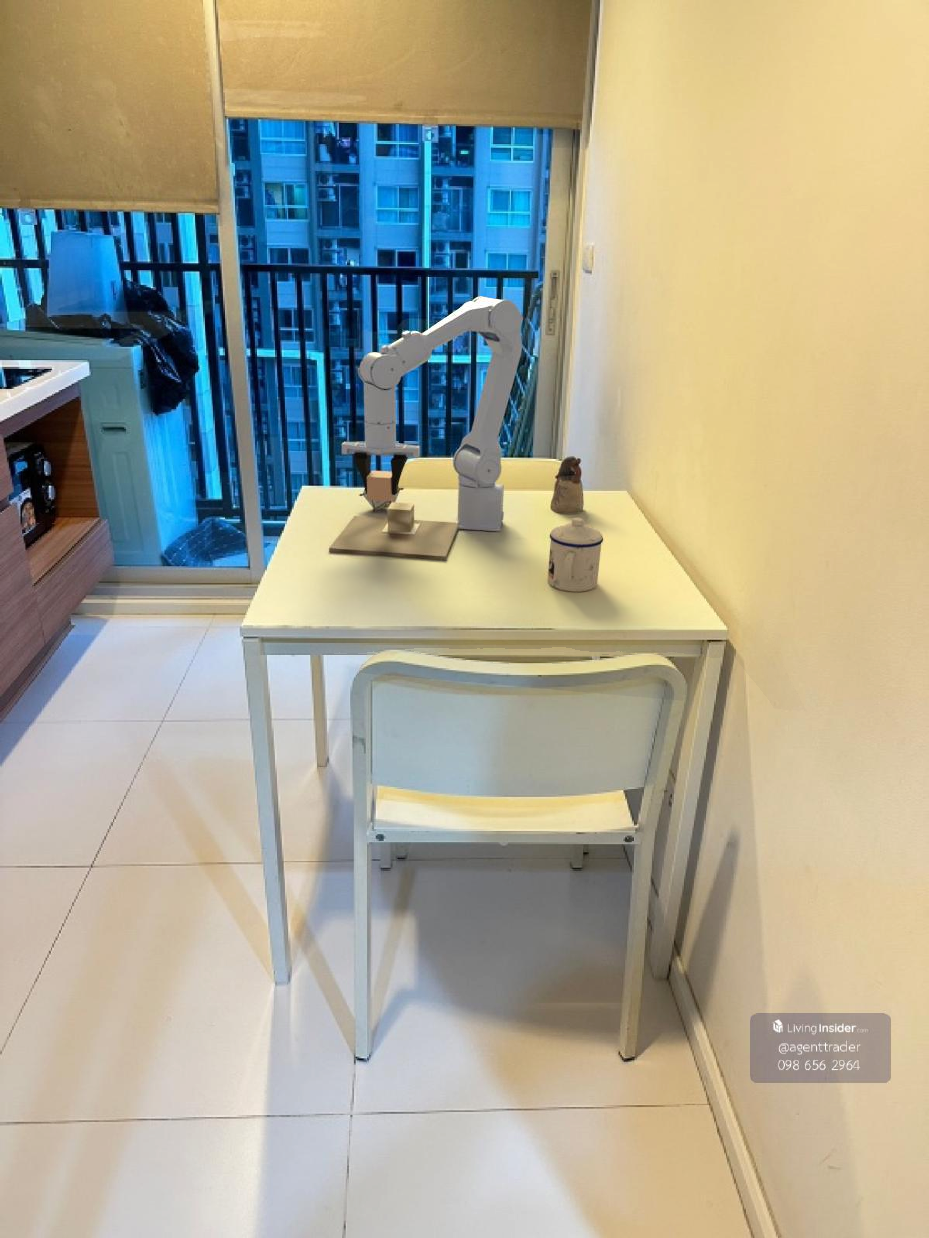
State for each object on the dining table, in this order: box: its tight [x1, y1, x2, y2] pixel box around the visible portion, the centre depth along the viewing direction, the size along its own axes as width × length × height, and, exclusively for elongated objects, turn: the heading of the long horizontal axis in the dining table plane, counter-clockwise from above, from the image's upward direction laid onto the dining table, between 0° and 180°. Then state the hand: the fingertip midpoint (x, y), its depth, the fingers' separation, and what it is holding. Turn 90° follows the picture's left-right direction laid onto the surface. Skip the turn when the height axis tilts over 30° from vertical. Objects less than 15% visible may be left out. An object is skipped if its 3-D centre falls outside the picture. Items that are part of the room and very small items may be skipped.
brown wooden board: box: [328, 515, 459, 561], centre depth 163 cm, size 22×20×1 cm
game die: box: [358, 470, 405, 514], centre depth 178 cm, size 9×8×10 cm
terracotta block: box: [366, 470, 395, 501], centre depth 158 cm, size 4×4×4 cm
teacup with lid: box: [547, 517, 604, 593], centre depth 141 cm, size 12×9×12 cm
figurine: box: [549, 455, 585, 515], centre depth 182 cm, size 7×7×12 cm
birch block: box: [387, 501, 415, 532], centre depth 165 cm, size 4×4×4 cm
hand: (381, 492), depth 159 cm, fingers closed on terracotta block, 4 cm apart
